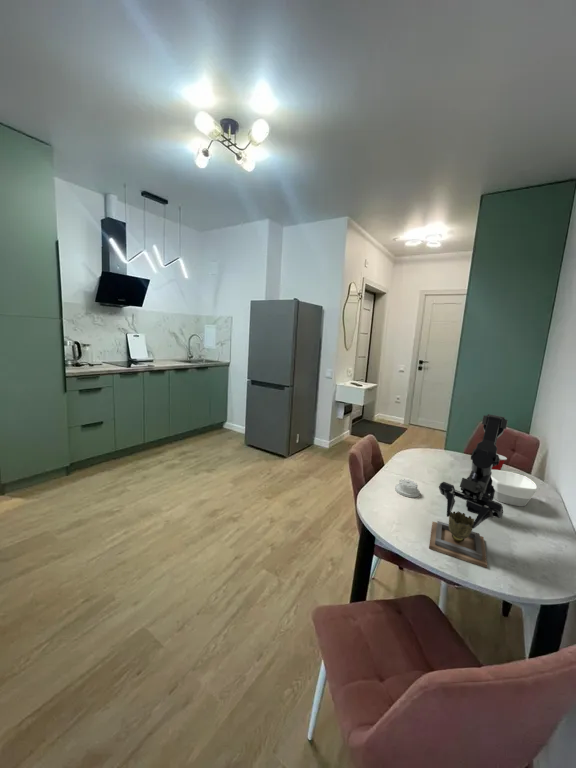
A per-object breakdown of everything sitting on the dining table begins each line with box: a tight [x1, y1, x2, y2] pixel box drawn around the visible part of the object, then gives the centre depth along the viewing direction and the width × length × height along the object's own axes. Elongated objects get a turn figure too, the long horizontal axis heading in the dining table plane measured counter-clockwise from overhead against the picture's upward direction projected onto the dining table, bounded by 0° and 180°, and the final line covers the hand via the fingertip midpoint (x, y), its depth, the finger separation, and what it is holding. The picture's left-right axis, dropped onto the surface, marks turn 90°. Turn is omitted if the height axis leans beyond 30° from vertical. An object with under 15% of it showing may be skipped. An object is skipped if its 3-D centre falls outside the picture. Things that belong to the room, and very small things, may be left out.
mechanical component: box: [394, 478, 421, 498], centre depth 143 cm, size 10×4×10 cm
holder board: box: [428, 520, 488, 569], centre depth 110 cm, size 16×16×2 cm
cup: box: [448, 511, 475, 542], centre depth 109 cm, size 8×7×8 cm
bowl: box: [491, 469, 538, 507], centre depth 145 cm, size 18×18×9 cm
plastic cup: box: [492, 453, 508, 470], centre depth 166 cm, size 11×11×12 cm
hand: (459, 522), depth 108 cm, fingers closed on cup, 7 cm apart
